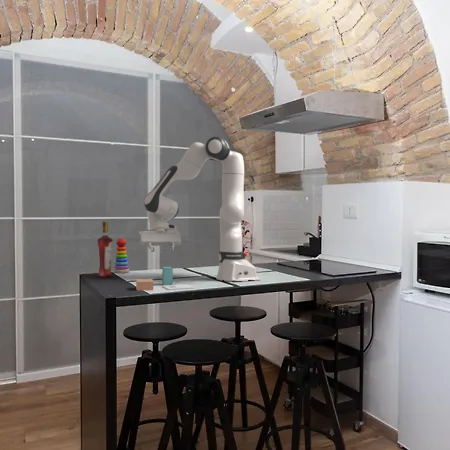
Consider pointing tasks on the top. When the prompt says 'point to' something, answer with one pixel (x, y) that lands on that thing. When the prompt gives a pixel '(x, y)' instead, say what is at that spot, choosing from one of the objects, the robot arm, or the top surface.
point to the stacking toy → (121, 257)
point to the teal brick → (167, 275)
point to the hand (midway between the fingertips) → (162, 251)
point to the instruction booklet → (177, 287)
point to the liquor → (105, 253)
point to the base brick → (144, 284)
